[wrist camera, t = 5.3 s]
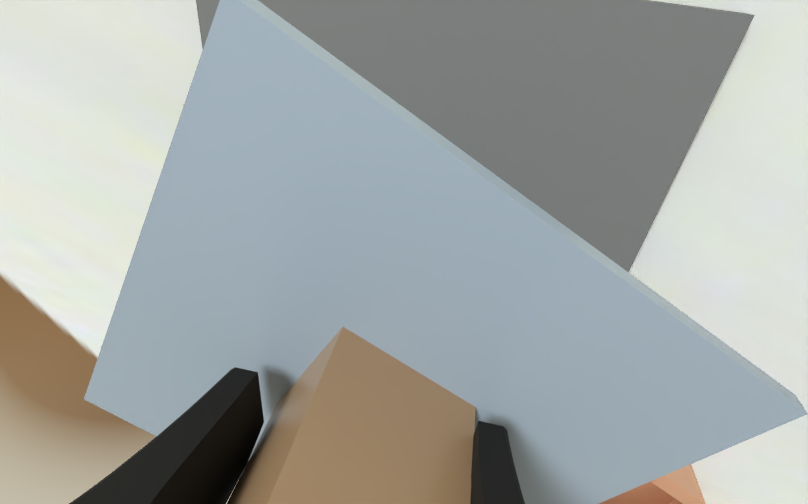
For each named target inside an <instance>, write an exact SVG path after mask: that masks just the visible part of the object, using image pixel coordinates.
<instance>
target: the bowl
mask: <svg viewBox="0 0 808 504" xmlns="http://www.w3.org/2000/svg"><path fill="white" fill-rule="evenodd" d="M599 504H705V501H704V498H703V495H702V493H701V490H700V487H699V485H698V482H697V479H696V477H695V474H694V471H693V469H692V466H691V464H690V465H687V466H685V467H683V468H680V469H678V470H676V471H673V472H671V473H669V474H666V475H664V476H662V477H659V478H657V479H655V480H652V481H650V482H648V483H645V484H643V485H641V486H638V487H636V488H634V489H631V490H629V491H627V492H624V493H622V494H620V495H617V496H615V497H613V498H610V499H608V500H606V501H603V502H601V503H599Z"/></svg>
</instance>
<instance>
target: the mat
mask: <svg viewBox="0 0 808 504" xmlns="http://www.w3.org/2000/svg"><path fill="white" fill-rule="evenodd" d="M219 1H220V0H196V3H197V11H198V18H199V25H200V32H201V39H202V47H203V48H204V45H205V42H206V39H207V37H208V34H209V31H210V28H211V25H212V22H213V19H214V16H215V13H216V10H217V7H218V4H219ZM258 1H260V2H261V3H262V4H264V5H265V6H266V7H268V8H269V9H270V10H272V11H273V12H275V13H276V14H277V15H279V16H280V17H281V18H283V19H284V20H285V21H287V22H288V23H289V24H291V25H292V26H294V27H295V28H296V29H298V30H299V31H300V32H302V33H303V34H304V35H306V36H307V37H309V38H310V39H311V40H313V41H314V42H315V43H317V44H318V45H319V46H321V47H322V48H324V49H325V50H326V51H328V52H329V53H330V54H332V55H333V56H334V57H336V58H337V59H339V60H340V61H341V62H343V63H344V64H345V65H347V66H348V67H349V68H351V69H352V70H353V71H355V72H356V73H358V74H359V75H360V76H362V77H363V78H364V79H366V80H367V81H368V82H370V83H371V84H373V85H374V86H375V87H377V88H378V89H379V90H381V91H382V92H383V93H385V94H386V95H388V96H389V97H390V98H392V99H393V100H394V101H396V102H397V103H398V104H400V105H401V106H403V107H404V108H405V109H407V110H408V111H409V112H411V113H412V114H413V115H415V116H416V117H417V118H419V119H420V120H422V121H423V122H424V123H426V124H427V125H428V126H430V127H431V128H432V129H434V130H435V131H437V132H438V133H439V134H441V135H442V136H443V137H445V138H446V139H447V140H449V141H450V142H452V143H453V144H454V145H456V146H457V147H458V148H460V149H461V150H462V151H464V152H465V153H466V154H468V155H469V156H471V157H472V158H473V159H475V160H476V161H477V162H479V163H480V164H481V165H483V166H484V167H486V168H487V169H488V170H490V171H491V172H492V173H494V174H495V175H496V176H498V177H499V178H501V179H502V180H503V181H505V182H506V183H507V184H509V185H510V186H511V187H513V188H514V189H516V190H517V191H518V192H520V193H521V194H522V195H524V196H525V197H526V198H528V199H529V200H530V201H532V202H533V203H535V204H536V205H537V206H539V207H540V208H541V209H543V210H544V211H545V212H547V213H548V214H550V215H551V216H552V217H554V218H555V219H556V220H558V221H559V222H560V223H562V224H563V225H565V226H566V227H567V228H569V229H570V230H571V231H573V232H574V233H575V234H577V235H578V236H579V237H581V238H582V239H584V240H585V241H586V242H588V243H589V244H590V245H592V246H593V247H594V248H596V249H597V250H599V251H600V252H601V253H603V254H604V255H605V256H607V257H608V258H609V259H611V260H612V261H614V262H615V263H616V264H618V265H619V266H620V267H622V268H623V269H624V270H626V271H627V272H628V271H629V269H630V267H631V265H632V263H633V261H634V259H635V257H636V255H637V253H638V251H639V249H640V247H641V245H642V243H643V241H644V239H645V237H646V235H647V233H648V231H649V229H650V227H651V225H652V223H653V221H654V219H655V217H656V214H657V212H658V210H659V208H660V206H661V204H662V202H663V200H664V198H665V196H666V194H667V192H668V190H669V188H670V186H671V184H672V182H673V180H674V178H675V176H676V174H677V172H678V170H679V168H680V166H681V164H682V162H683V160H684V158H685V155H686V153H687V151H688V149H689V147H690V145H691V143H692V141H693V139H694V137H695V135H696V133H697V131H698V129H699V127H700V125H701V123H702V121H703V119H704V117H705V115H706V113H707V111H708V109H709V107H710V105H711V103H712V101H713V99H714V96H715V94H716V92H717V90H718V88H719V86H720V84H721V82H722V80H723V78H724V76H725V74H726V72H727V70H728V68H729V66H730V64H731V62H732V60H733V58H734V56H735V54H736V52H737V50H738V48H739V46H740V44H741V42H742V39H743V37H744V35H745V33H746V31H747V29H748V27H749V25H750V23H751V21H752V19H753V17H754V15H751V14H747V13H739V12H732V11H724V10H717V9H709V8H702V7H694V6H687V5H680V4H672V3H665V2H657V1H650V0H258Z"/></svg>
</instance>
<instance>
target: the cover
mask: <svg viewBox="0 0 808 504" xmlns="http://www.w3.org/2000/svg"><path fill="white" fill-rule="evenodd" d="M234 367H237V368H241V369H246V370H250V371H255V372H258V377H259V385H260V393H261V401H262V409H263V417H264V423H263V426H262V428H261V431H260V434H259V436H258V439H257V441H256V444H255V446H254V448H253V451H252V453H251V456H250V458H249V460H248V463H247V465H246V467H245V468H244V470H243V472H242V474H241V476H240V478H239V481H238V483H237V485H236V487H235V489H234V491H233V493H232V495H231V497H230V499H229V501H228V503H227V504H470V500H471V468H472V451H473V435H474V432H475V429H476V426H477V423H478V421H482V422H486V423H491V424H495V425H500V426H504V427H505V428H506V429H507V432H508V438H509V443H510V448H511V452H512V457H513V461H514V465H515V469H516V473H517V477H518V481H519V484H520V488H521V492H522V495H523V499H524V502H525V504H599V503H601V502H603V501H606V500H608V499H610V498H613V497H615V496H617V495H620V494H622V493H624V492H627V491H629V490H631V489H634V488H636V487H638V486H641V485H643V484H645V483H648V482H650V481H652V480H655V479H657V478H659V477H662V476H664V475H666V474H669V473H671V472H673V471H676V470H678V469H680V468H683V467H685V466H687V465H690V464H692V463H694V462H697V461H699V460H701V459H704V458H706V457H708V456H711V455H713V454H715V453H718V452H720V451H722V450H725V449H727V448H729V447H732V446H734V445H736V444H739V443H741V442H743V441H746V440H748V439H750V438H753V437H755V436H757V435H760V434H762V433H764V432H766V431H769V430H771V429H773V428H776V427H778V426H780V425H783V424H785V423H787V422H790V421H792V420H794V419H797V418H799V417H801V416H804V415H806V414H808V413H807V412H806V410H805V409H804V407H803V406H802V404H801V403H800V401H799V400H798V398H797V397H796V395H795V394H793V393H792V392H791V391H789V390H788V389H786V388H785V387H784V386H782V385H781V384H780V383H778V382H777V381H776V380H774V379H773V378H771V377H770V376H769V375H767V374H766V373H765V372H763V371H762V370H761V369H759V368H758V367H756V366H755V365H754V364H752V363H751V362H750V361H748V360H747V359H746V358H744V357H743V356H742V355H740V354H739V353H737V352H736V351H735V350H733V349H732V348H731V347H729V346H728V345H727V344H725V343H724V342H722V341H721V340H720V339H718V338H717V337H716V336H714V335H713V334H712V333H710V332H709V331H707V330H706V329H705V328H703V327H702V326H701V325H699V324H698V323H697V322H695V321H694V320H693V319H691V318H690V317H688V316H687V315H686V314H684V313H683V312H682V311H680V310H679V309H678V308H676V307H675V306H673V305H672V304H671V303H669V302H668V301H667V300H665V299H664V298H663V297H661V296H660V295H658V294H657V293H656V292H654V291H653V290H652V289H650V288H649V287H648V286H646V285H645V284H643V283H642V282H641V281H639V280H638V279H637V278H635V277H634V276H633V275H631V274H630V273H629V272H627V271H626V270H624V269H623V268H622V267H620V266H619V265H618V264H616V263H615V262H614V261H612V260H611V259H609V258H608V257H607V256H605V255H604V254H603V253H601V252H600V251H599V250H597V249H596V248H594V247H593V246H592V245H590V244H589V243H588V242H586V241H585V240H584V239H582V238H581V237H579V236H578V235H577V234H575V233H574V232H573V231H571V230H570V229H569V228H567V227H566V226H565V225H563V224H562V223H560V222H559V221H558V220H556V219H555V218H554V217H552V216H551V215H550V214H548V213H547V212H545V211H544V210H543V209H541V208H540V207H539V206H537V205H536V204H535V203H533V202H532V201H530V200H529V199H528V198H526V197H525V196H524V195H522V194H521V193H520V192H518V191H517V190H516V189H514V188H513V187H511V186H510V185H509V184H507V183H506V182H505V181H503V180H502V179H501V178H499V177H498V176H496V175H495V174H494V173H492V172H491V171H490V170H488V169H487V168H486V167H484V166H483V165H481V164H480V163H479V162H477V161H476V160H475V159H473V158H472V157H471V156H469V155H468V154H466V153H465V152H464V151H462V150H461V149H460V148H458V147H457V146H456V145H454V144H453V143H452V142H450V141H449V140H447V139H446V138H445V137H443V136H442V135H441V134H439V133H438V132H437V131H435V130H434V129H432V128H431V127H430V126H428V125H427V124H426V123H424V122H423V121H422V120H420V119H419V118H417V117H416V116H415V115H413V114H412V113H411V112H409V111H408V110H407V109H405V108H404V107H403V106H401V105H400V104H398V103H397V102H396V101H394V100H393V99H392V98H390V97H389V96H388V95H386V94H385V93H383V92H382V91H381V90H379V89H378V88H377V87H375V86H374V85H373V84H371V83H370V82H368V81H367V80H366V79H364V78H363V77H362V76H360V75H359V74H358V73H356V72H355V71H353V70H352V69H351V68H349V67H348V66H347V65H345V64H344V63H343V62H341V61H340V60H339V59H337V58H336V57H334V56H333V55H332V54H330V53H329V52H328V51H326V50H325V49H324V48H322V47H321V46H319V45H318V44H317V43H315V42H314V41H313V40H311V39H310V38H309V37H307V36H306V35H304V34H303V33H302V32H300V31H299V30H298V29H296V28H295V27H294V26H292V25H291V24H289V23H288V22H287V21H285V20H284V19H283V18H281V17H280V16H279V15H277V14H276V13H275V12H273V11H272V10H270V9H269V8H268V7H266V6H265V5H264V4H262V3H261V2H260V1H258V0H220V1H219V4H218V7H217V10H216V13H215V16H214V19H213V22H212V25H211V28H210V31H209V34H208V37H207V39H206V42H205V45H204V48H203V51H202V54H201V57H200V60H199V63H198V66H197V69H196V72H195V75H194V78H193V81H192V83H191V86H190V89H189V92H188V95H187V98H186V101H185V104H184V107H183V110H182V113H181V116H180V119H179V122H178V125H177V128H176V130H175V133H174V136H173V139H172V142H171V145H170V148H169V151H168V154H167V157H166V160H165V163H164V166H163V169H162V172H161V175H160V177H159V180H158V183H157V186H156V189H155V192H154V195H153V198H152V201H151V204H150V207H149V210H148V213H147V216H146V219H145V221H144V224H143V227H142V230H141V233H140V236H139V239H138V242H137V245H136V248H135V251H134V254H133V257H132V260H131V263H130V266H129V268H128V271H127V274H126V277H125V280H124V283H123V286H122V289H121V292H120V295H119V298H118V301H117V304H116V307H115V310H114V313H113V315H112V318H111V321H110V324H109V327H108V330H107V333H106V336H105V339H104V342H103V345H102V348H101V351H100V354H99V357H98V360H97V363H96V365H95V368H94V371H93V374H92V377H91V380H90V383H89V386H88V389H87V392H86V395H85V398H84V400H86V401H88V402H90V403H92V404H94V405H96V406H98V407H100V408H102V409H104V410H106V411H108V412H110V413H112V414H114V415H116V416H118V417H120V418H121V419H123V420H125V421H127V422H129V423H131V424H133V425H135V426H137V427H139V428H141V429H143V430H145V431H147V432H149V433H151V434H153V435H155V436H158V435H159V434H160V433H161V432H162V431H164V430H165V429H166V428H167V427H168V426H169V425H171V424H172V423H173V422H174V421H175V420H176V419H177V418H179V417H180V416H181V415H182V414H183V413H184V412H185V411H187V410H188V409H189V408H190V407H191V406H192V405H193V404H194V403H195V402H197V401H198V400H199V399H200V398H201V397H202V396H203V395H204V394H205V393H206V392H207V391H209V390H210V389H211V388H212V387H213V386H214V385H215V384H216V383H217V382H218V381H219V380H220V379H221V378H222V377H224V376H225V375H226V374H227V373H228V372H229V371H230V370H231V369H233V368H234Z"/></svg>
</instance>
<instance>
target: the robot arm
mask: <svg viewBox="0 0 808 504" xmlns="http://www.w3.org/2000/svg"><path fill="white" fill-rule="evenodd" d="M263 423H264V417H263V409H262V401H261V393H260V385H259V377H258V372H255V371H250V370H246V369H241V368H237V367H234V368H233V369H231V370H230V371H229V372H228V373H227V374H226V375H225V376H224V377H222V378H221V379H220V380H219V381H218V382H217V383H216V384H215V385H214V386H213V387H212V388H211V389H210V390H209V391H207V392H206V393H205V394H204V395H203V396H202V397H201V398H200V399H199V400H198V401H197V402H195V403H194V404H193V405H192V406H191V407H190V408H189V409H188V410H187V411H185V412H184V413H183V414H182V415H181V416H180V417H179V418H177V419H176V420H175V421H174V422H173V423H172V424H171V425H169V426H168V427H167V428H166V429H165V430H164V431H162V432H161V433H160V434H159V435H158V436H157V437H155V438H154V439H153V440H152V441H151V442H150V443H148V444H147V445H146V446H145V447H143V448H142V449H141V450H140V451H138V452H137V453H136V454H135V455H133V456H132V457H131V458H130V459H128V460H127V461H126V462H125V463H123V464H122V465H121V466H120V467H118V468H117V469H116V470H115V471H113V472H112V473H111V474H109V475H108V476H107V477H105V478H104V479H103V480H101V481H100V482H99V483H98V484H96V485H95V486H93V487H92V488H91V489H89V490H88V491H87V492H85V493H84V494H82V495H81V496H80V497H78V498H77V499H75V500H74V501H73V502H71V503H70V504H226V502H227V500H228V498H229V497H230V495H231V493H232V491H233V489H234V487H235V485H236V484H237V482H238V480H239V478H240V476H241V474H242V472H243V470H244V468H245V467H246V465H247V463H248V460H249V458H250V456H251V453H252V451H253V448H254V446H255V444H256V441H257V439H258V436H259V434H260V431H261V428H262V426H263ZM470 504H525V502H524V499H523V495H522V492H521V488H520V484H519V481H518V477H517V473H516V469H515V465H514V461H513V457H512V452H511V448H510V443H509V438H508V432H507V429H506V428H505V427H504V426H500V425H495V424H491V423H486V422H482V421H478V423H477V426H476V429H475V432H474V435H473V451H472V468H471V500H470Z"/></svg>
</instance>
